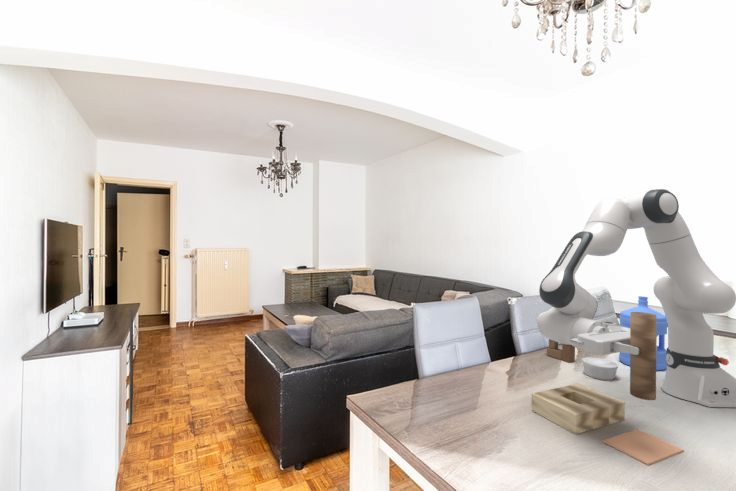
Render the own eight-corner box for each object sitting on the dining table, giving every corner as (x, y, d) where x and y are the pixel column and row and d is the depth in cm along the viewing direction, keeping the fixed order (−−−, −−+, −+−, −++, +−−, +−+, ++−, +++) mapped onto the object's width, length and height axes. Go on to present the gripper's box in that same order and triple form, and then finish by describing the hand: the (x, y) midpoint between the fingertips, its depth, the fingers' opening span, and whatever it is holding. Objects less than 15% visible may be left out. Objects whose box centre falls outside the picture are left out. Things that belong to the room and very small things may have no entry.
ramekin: (618, 384, 124) (618, 369, 124) (581, 377, 130) (582, 363, 130) (616, 374, 134) (616, 360, 134) (582, 368, 140) (582, 355, 140)
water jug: (625, 367, 140) (626, 298, 140) (614, 356, 155) (615, 293, 155) (674, 373, 134) (675, 301, 134) (658, 361, 149) (658, 295, 149)
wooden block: (569, 363, 146) (570, 320, 145) (546, 355, 155) (547, 315, 155) (575, 361, 147) (575, 319, 147) (552, 354, 157) (552, 314, 157)
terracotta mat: (637, 430, 93) (637, 429, 93) (683, 451, 83) (683, 449, 83) (602, 441, 87) (602, 440, 87) (648, 465, 78) (648, 463, 78)
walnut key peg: (648, 392, 87) (649, 312, 87) (660, 401, 82) (661, 316, 82) (626, 390, 88) (626, 311, 88) (636, 399, 83) (637, 315, 83)
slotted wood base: (577, 399, 111) (577, 383, 111) (624, 419, 98) (624, 402, 98) (531, 410, 103) (531, 393, 103) (575, 434, 91) (575, 415, 91)
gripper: (565, 327, 93) (620, 341, 80) (614, 321, 101) (671, 332, 88) (565, 351, 93) (619, 368, 80) (614, 343, 101) (671, 357, 88)
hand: (647, 349), depth 84 cm, fingers closed on walnut key peg, 5 cm apart
